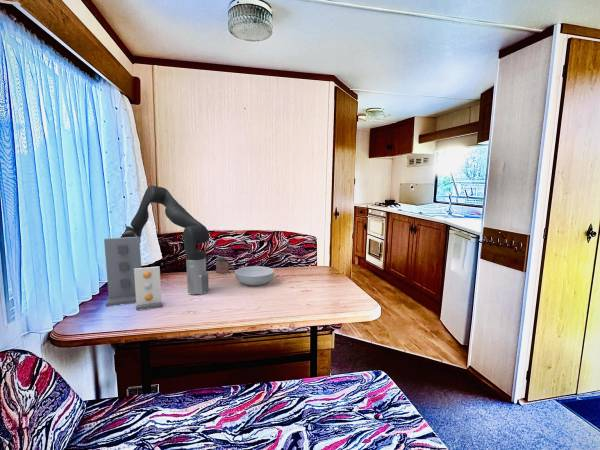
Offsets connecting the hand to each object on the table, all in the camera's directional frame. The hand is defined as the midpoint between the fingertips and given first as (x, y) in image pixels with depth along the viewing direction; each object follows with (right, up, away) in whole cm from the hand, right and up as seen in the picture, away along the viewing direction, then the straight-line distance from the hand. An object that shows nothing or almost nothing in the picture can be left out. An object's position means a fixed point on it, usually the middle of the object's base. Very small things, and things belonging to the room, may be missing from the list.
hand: (125, 244), depth 160 cm
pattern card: (+19, -26, -17) cm, 37 cm away
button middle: (+4, -11, -8) cm, 14 cm away
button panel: (+5, -25, -8) cm, 27 cm away
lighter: (+40, -20, +35) cm, 56 cm away
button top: (+4, -3, -9) cm, 10 cm away
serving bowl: (+61, -22, +17) cm, 67 cm away
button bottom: (+4, -19, -7) cm, 20 cm away
